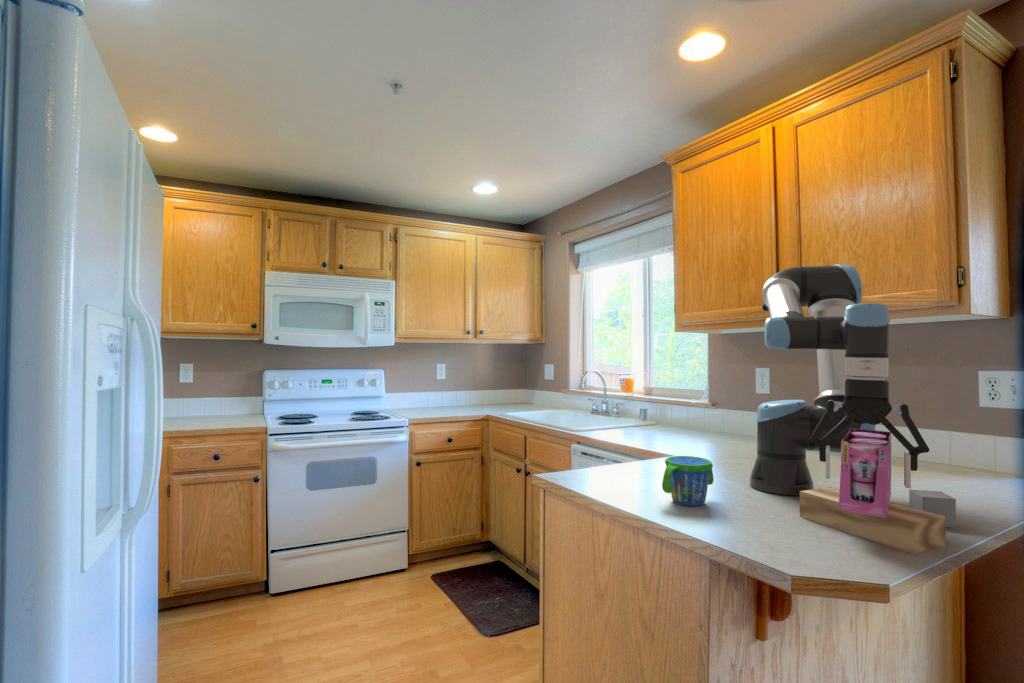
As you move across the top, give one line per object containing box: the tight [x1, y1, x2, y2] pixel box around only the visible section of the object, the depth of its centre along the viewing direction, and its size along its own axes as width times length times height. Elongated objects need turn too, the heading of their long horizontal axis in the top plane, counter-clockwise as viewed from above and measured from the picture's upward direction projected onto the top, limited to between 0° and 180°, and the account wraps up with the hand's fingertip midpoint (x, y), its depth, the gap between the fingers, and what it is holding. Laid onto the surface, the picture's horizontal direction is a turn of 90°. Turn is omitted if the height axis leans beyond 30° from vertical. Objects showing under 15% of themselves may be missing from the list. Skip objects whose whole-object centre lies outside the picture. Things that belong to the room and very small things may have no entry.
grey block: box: [908, 489, 957, 528], centre depth 114 cm, size 6×6×6 cm
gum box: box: [839, 429, 892, 518], centre depth 109 cm, size 24×8×14 cm, turn 143°
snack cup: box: [661, 455, 714, 507], centre depth 127 cm, size 16×10×10 cm
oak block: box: [799, 486, 947, 554], centre depth 109 cm, size 10×23×6 cm, turn 23°
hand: (866, 482), depth 109 cm, fingers open, 13 cm apart
